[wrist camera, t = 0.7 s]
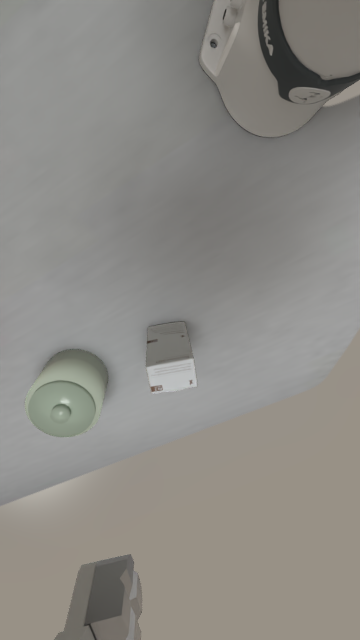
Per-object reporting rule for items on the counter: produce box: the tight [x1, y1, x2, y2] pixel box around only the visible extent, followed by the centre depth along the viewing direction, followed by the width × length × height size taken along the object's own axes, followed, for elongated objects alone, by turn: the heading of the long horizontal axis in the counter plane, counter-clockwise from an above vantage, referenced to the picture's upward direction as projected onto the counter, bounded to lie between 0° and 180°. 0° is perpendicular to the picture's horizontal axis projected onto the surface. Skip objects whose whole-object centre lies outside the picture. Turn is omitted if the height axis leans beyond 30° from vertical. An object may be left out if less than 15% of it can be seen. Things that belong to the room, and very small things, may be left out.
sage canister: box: [25, 349, 108, 437], centre depth 44 cm, size 10×10×10 cm
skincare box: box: [146, 322, 198, 394], centre depth 42 cm, size 6×4×12 cm
